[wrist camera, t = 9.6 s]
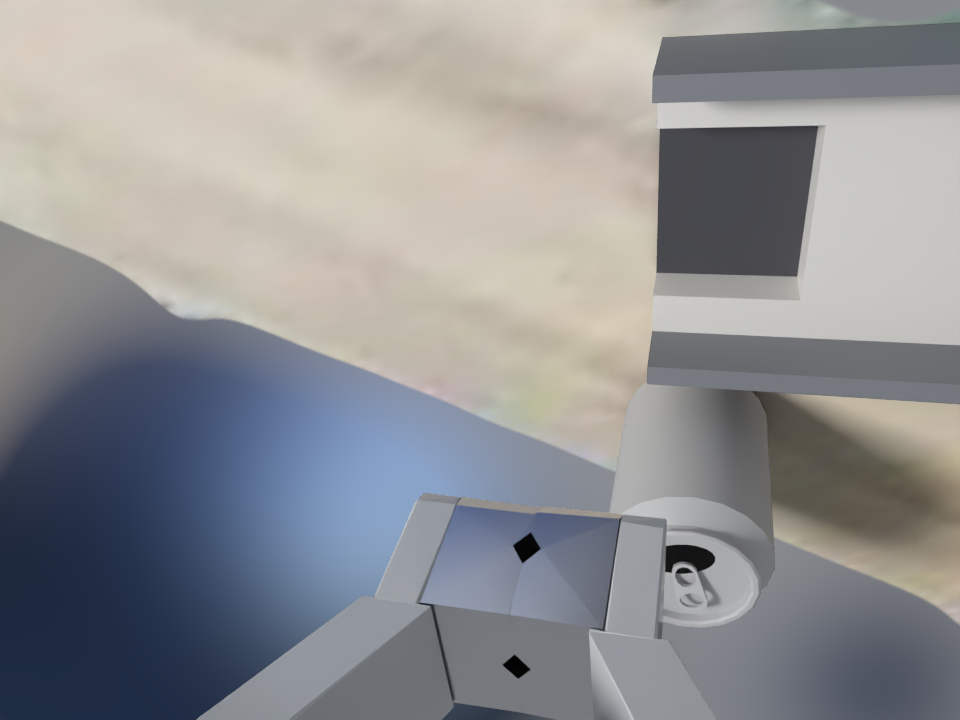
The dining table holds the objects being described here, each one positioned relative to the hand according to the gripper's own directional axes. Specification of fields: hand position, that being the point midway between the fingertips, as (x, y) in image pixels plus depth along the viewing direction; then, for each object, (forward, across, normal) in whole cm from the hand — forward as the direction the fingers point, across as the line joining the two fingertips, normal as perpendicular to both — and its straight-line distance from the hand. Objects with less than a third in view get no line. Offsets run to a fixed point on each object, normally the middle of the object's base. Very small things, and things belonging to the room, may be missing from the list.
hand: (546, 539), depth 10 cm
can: (+29, -2, +21) cm, 36 cm away
